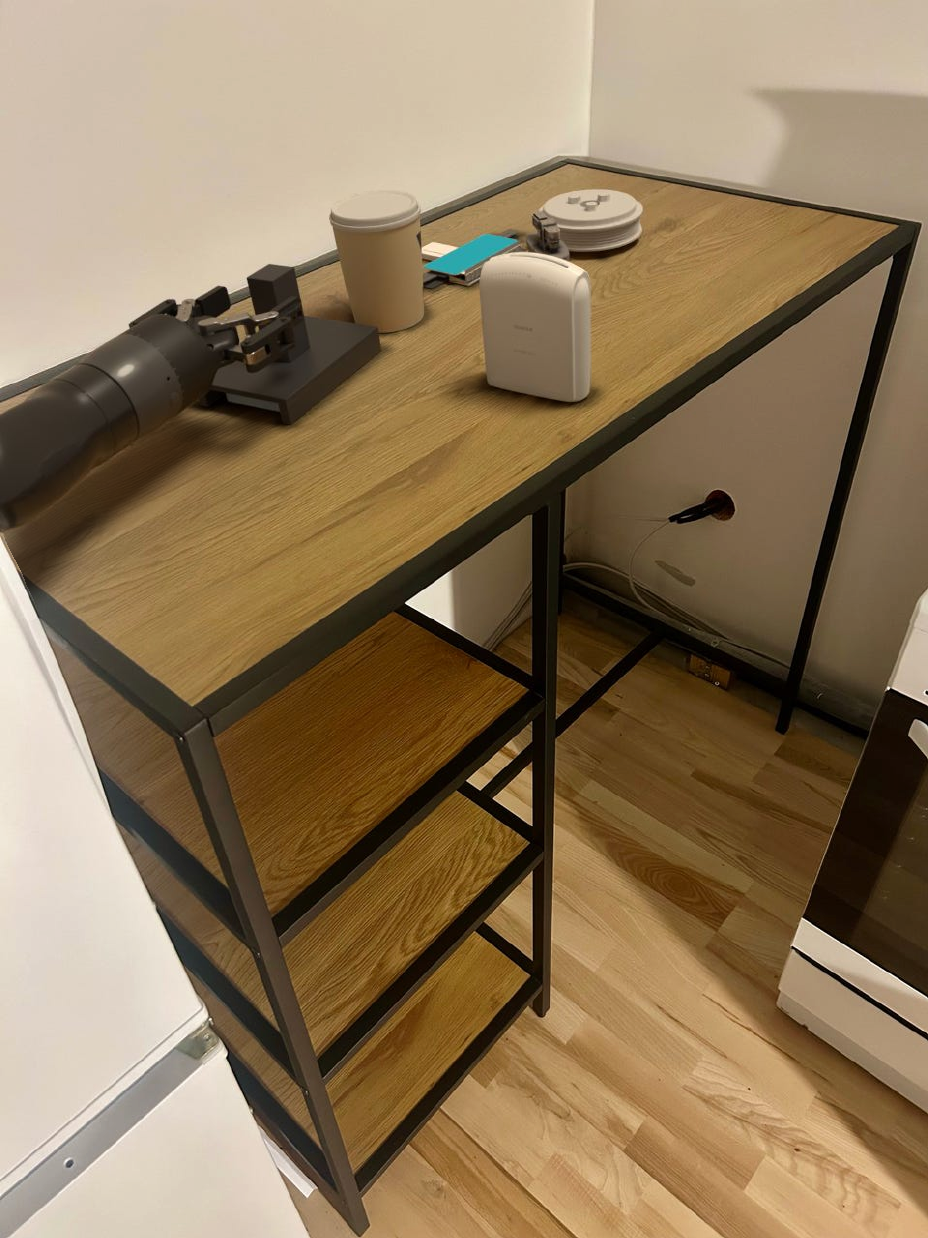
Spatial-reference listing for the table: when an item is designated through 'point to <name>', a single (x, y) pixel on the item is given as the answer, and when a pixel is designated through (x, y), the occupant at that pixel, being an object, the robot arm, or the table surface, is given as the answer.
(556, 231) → the lighter
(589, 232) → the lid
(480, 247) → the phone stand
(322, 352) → the cover
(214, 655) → the table surface
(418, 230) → the coffee cup
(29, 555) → the table surface
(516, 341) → the photo printer
